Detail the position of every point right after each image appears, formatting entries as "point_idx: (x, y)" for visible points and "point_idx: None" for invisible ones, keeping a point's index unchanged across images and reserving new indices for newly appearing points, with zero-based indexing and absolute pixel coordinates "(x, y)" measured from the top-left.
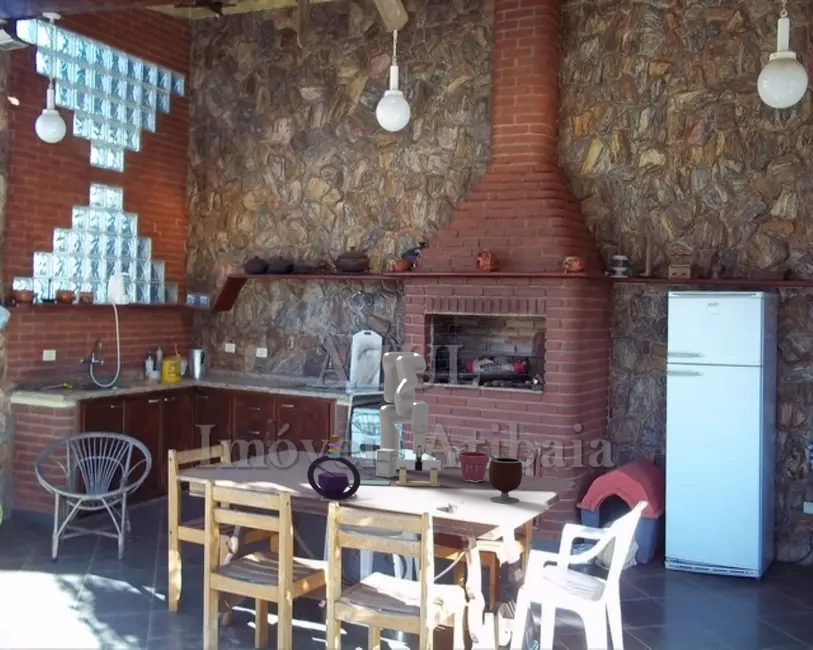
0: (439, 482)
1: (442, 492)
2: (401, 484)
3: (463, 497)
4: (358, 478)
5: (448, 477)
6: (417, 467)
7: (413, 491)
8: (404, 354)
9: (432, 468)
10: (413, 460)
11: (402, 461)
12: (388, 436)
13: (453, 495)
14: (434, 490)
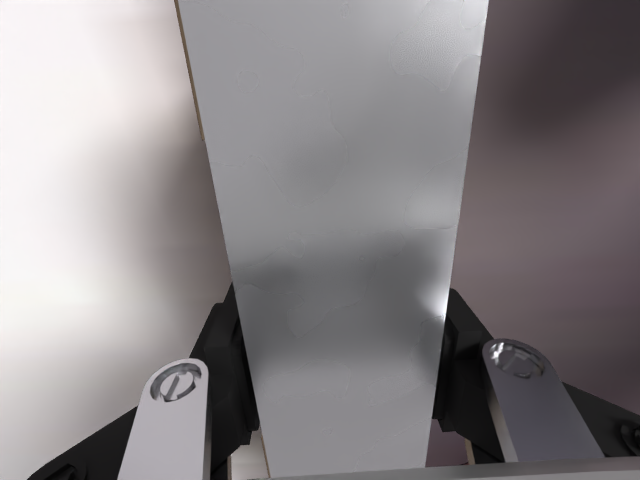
0: None
1: (87, 381)
2: None
3: (2, 467)
4: None
5: (611, 392)
6: (213, 318)
7: (8, 204)
8: None
9: (264, 450)
10: (302, 318)
11: (190, 20)
12: None
13: (27, 430)
14: (132, 339)
